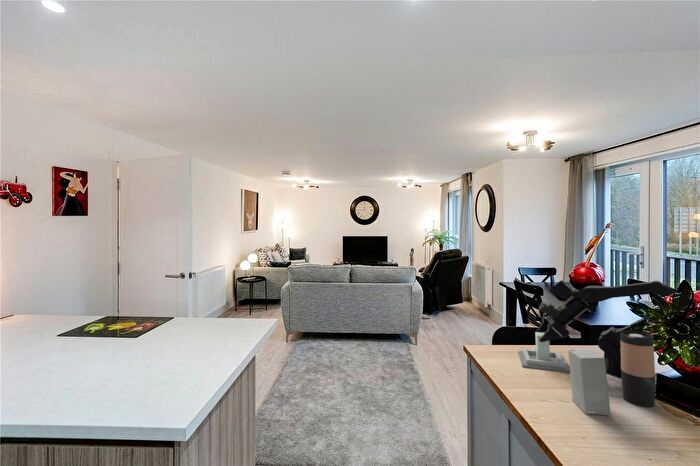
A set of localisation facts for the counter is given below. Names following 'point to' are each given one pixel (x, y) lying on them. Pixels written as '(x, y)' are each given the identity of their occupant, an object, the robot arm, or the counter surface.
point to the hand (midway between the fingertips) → (538, 337)
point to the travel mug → (638, 368)
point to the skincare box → (589, 381)
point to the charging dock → (554, 364)
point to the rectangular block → (542, 348)
